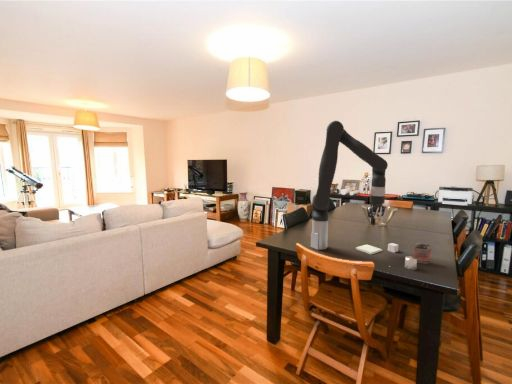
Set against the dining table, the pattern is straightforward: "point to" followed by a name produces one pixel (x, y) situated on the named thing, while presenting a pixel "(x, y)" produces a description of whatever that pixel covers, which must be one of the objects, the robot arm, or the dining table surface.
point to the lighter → (422, 253)
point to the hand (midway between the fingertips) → (375, 224)
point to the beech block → (376, 221)
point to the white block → (393, 247)
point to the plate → (369, 249)
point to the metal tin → (410, 263)
